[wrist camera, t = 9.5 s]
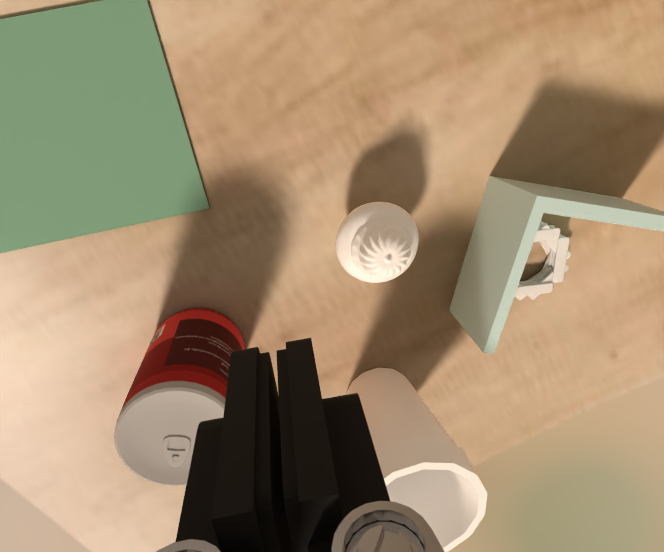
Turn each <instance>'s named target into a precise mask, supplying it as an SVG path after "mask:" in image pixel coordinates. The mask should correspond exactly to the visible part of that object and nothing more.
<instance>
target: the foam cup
mask: <svg viewBox="0 0 664 552" xmlns="http://www.w3.org/2000/svg"><path fill="white" fill-rule="evenodd" d="M354 393H358V395H359V398H360V401H361V404H362V407H363V411H364V414H365V417H366V421H367V424H368V427H369V431H370V434H371V437H372V441H373V444H374V448H375V451H376V454H377V458H378V461H379V464H380V468H381V471H382V474H383V478H384V481H385V484H386V488H387V491H388V494H389V498H390V501H391V502H397V503H400V504H402V505H405V506H408V507H410V508H412V509H413V510H414V511H416V512H417V513H418V514H420V515H421V516H422V517H423V518H424V519H425V521H426V522H427V523H428V524H429V526H430V527H431V528H432V530H433V532H434V534H435V536H436V537H437V539H438V541H439V543H440V545H441V546H442V548H443V550H444V552H448V551H449V550H451V549H452V548H454V547H455V546H456V545H458V544H459V543H461V542H462V541H464V540H465V539H466V538H468V537H469V536H471V534H472V533H473V531H474V530H475V529H476V527H477V526H478V524H479V523H480V521H481V520H482V518H483V517H484V515H485V509H486V501H487V492H486V490H485V488H484V486H483V485H482V482H481V481H480V479H479V477H478V475H477V473H476V471H475V470H474V468H473V466H472V464H471V462H470V461H469V459H468V457H467V455H466V454H465V452H464V450H463V449H462V448H460V447H458V446H457V445H456V444H455V442H454V441H453V440H452V438H451V437H450V436H449V434H448V433H447V432H446V430H445V429H444V428H443V426H442V425H441V423H440V422H439V421H438V419H437V418H436V417H435V415H434V414H433V413H432V411H431V410H430V409H429V407H428V406H427V405H426V403H425V402H424V401H423V399H422V398H421V397H420V395H419V394H418V393H417V391H416V390H415V389H414V387H413V386H412V385H411V383H410V382H409V381H408V379H407V378H406V377H405V376H404V375H403V374H401V373H400V372H398V371H396V370H394V369H390V368H375V369H372V370H369V371H366V372H363V373H362V374H361V375H359V376H358V377H357V378H356V379H355V380H353V381H352V382H351V384H350V386H349V388H348V390H347V392H346V395H348V394H354Z"/></svg>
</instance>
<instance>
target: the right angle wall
mask: <svg viewBox="0 0 664 552" xmlns="http://www.w3.org/2000/svg"><path fill="white" fill-rule="evenodd" d="M543 213H547V214H554V215H560V216H567V217H574V218H580V219H587V220H593V221H600V222H606V223H613V224H619V225H626V226H632V227H639V228H645V229H652V230H659V231H664V212H663V211H660V210H657V209H654V208H651V207H647V206H644V205H641V204H638V203H635V202H632V201H629V200H626V199H623V198H620V197H614V196H608V195H602V194H596V193H590V192H584V191H578V190H572V189H566V188H560V187H554V186H548V185H542V184H536V183H530V182H524V181H518V180H512V179H506V178H500V177H494V176H489V179H488V182H487V185H486V189H485V192H484V195H483V199H482V202H481V205H480V209H479V212H478V215H477V219H476V222H475V225H474V229H473V232H472V235H471V239H470V242H469V245H468V249H467V252H466V255H465V258H464V262H463V265H462V268H461V272H460V275H459V278H458V282H457V285H456V288H455V292H454V295H453V298H452V302H451V305H450V308H449V311H450V312H451V313H452V315H453V316H454V317H455V318H456V320H457V321H458V322H459V323H460V325H461V326H462V327H463V328H464V329H465V331H466V332H467V333H468V334H469V336H470V337H471V338H472V339H473V341H474V342H475V343H476V344H477V345H478V347H479V348H480V349H481V350H482V352H483V353H492V354H494V352H495V350H496V347H497V344H498V341H499V338H500V335H501V332H502V330H503V327H504V324H505V321H506V318H507V315H508V313H509V310H510V307H511V304H512V301H513V298H514V297H516V298H517V299H519V300H522V299H523V298H524V297H525V296H527V295H528V296H529V297H530V298H531V299H533V300H534V299H535V298H537V297H538V296H539V295H540V294H542V293H550V292H552V290H553V282H554V283H556V282H562V281H563V279H564V273H565V272H566V271H567V270H568V269H569V266H568V265H567V264H566V260H567V259H568V258H569V257H571V255H572V254H571V253H570V251H569V250H568V248H569V242H570V238H568V237H565V236H562V234H560V228H555V226H554V225H549V226H548V224H547V223H544V222H543V221H541V219H542V216H543ZM533 242H540V243H541V245H542V247H543V249H544V251H545V253H546V254H547V256H548V257H547V259H546V261H545V264H544V266H543V269H542V270H541V271H540V272H538V273H537V274H535V275H534V276H533V277H531V278H530V279H528V280H527V281H520V279H521V276H522V273H523V270H524V267H525V264H526V262H527V259H528V256H529V253H530V250H531V247H532V245H533Z"/></svg>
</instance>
